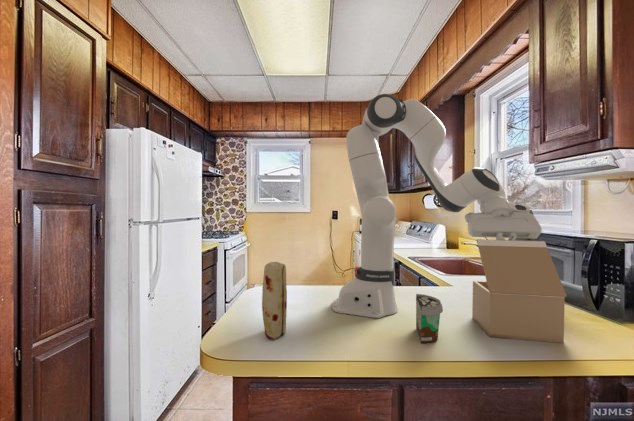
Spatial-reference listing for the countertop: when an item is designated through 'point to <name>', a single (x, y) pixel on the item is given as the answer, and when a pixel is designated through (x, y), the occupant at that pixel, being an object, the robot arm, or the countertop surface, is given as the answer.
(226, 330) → the countertop surface
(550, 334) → the carton
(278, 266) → the food model
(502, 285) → the flap
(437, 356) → the countertop surface
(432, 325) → the food container
